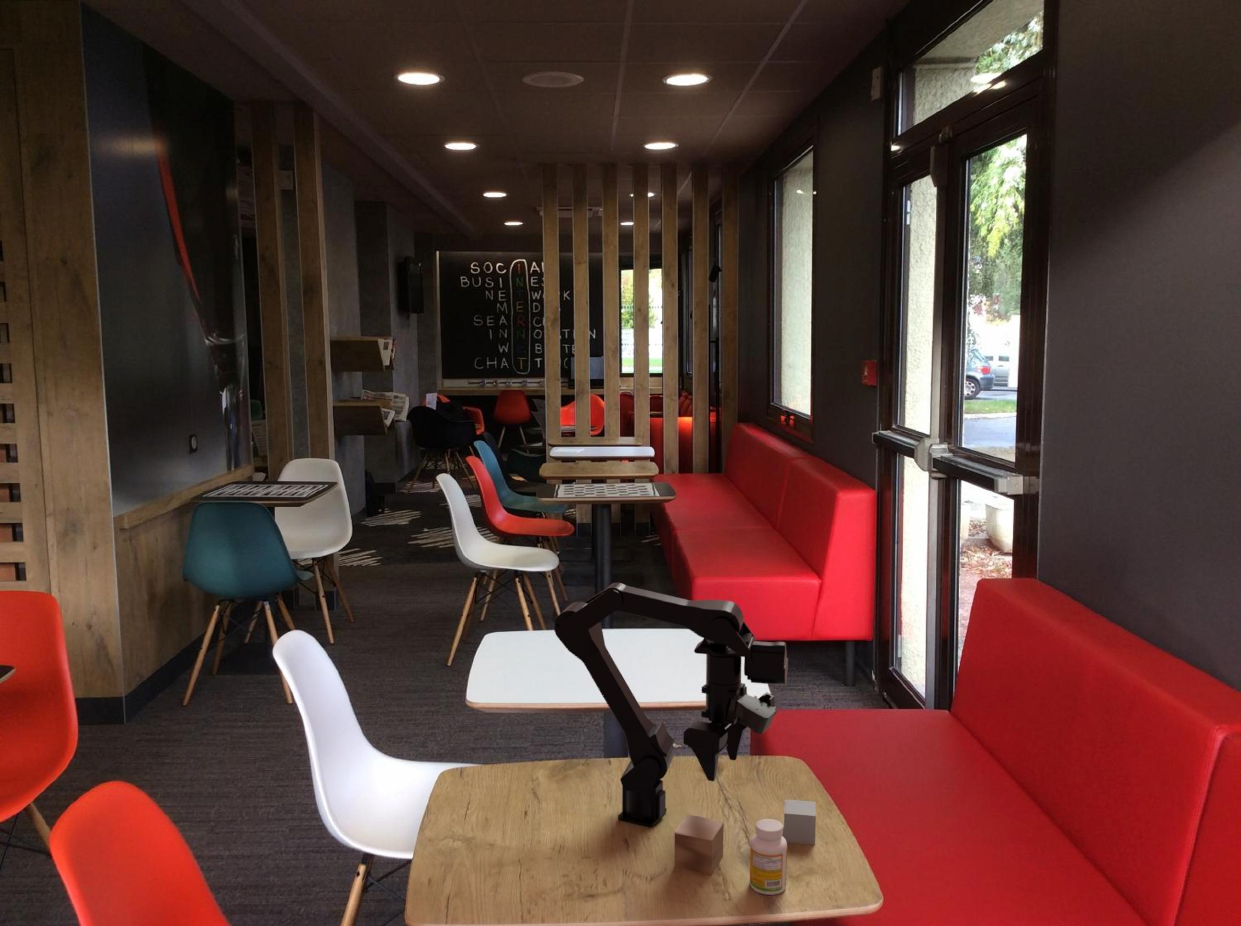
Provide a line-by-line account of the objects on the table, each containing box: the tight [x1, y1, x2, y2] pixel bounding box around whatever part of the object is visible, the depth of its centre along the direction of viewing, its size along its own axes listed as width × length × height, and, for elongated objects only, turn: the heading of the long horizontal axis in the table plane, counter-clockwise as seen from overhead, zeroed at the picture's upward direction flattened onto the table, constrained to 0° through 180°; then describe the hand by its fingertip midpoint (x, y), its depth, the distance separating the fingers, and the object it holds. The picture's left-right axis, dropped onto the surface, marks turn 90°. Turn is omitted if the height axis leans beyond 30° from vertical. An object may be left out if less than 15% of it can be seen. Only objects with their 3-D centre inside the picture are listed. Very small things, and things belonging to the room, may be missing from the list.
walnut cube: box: [673, 813, 725, 876], centre depth 162 cm, size 6×6×6 cm
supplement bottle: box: [749, 818, 788, 896], centre depth 155 cm, size 5×5×10 cm
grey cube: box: [783, 799, 817, 846], centre depth 170 cm, size 5×5×5 cm
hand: (722, 769), depth 173 cm, fingers open, 9 cm apart
